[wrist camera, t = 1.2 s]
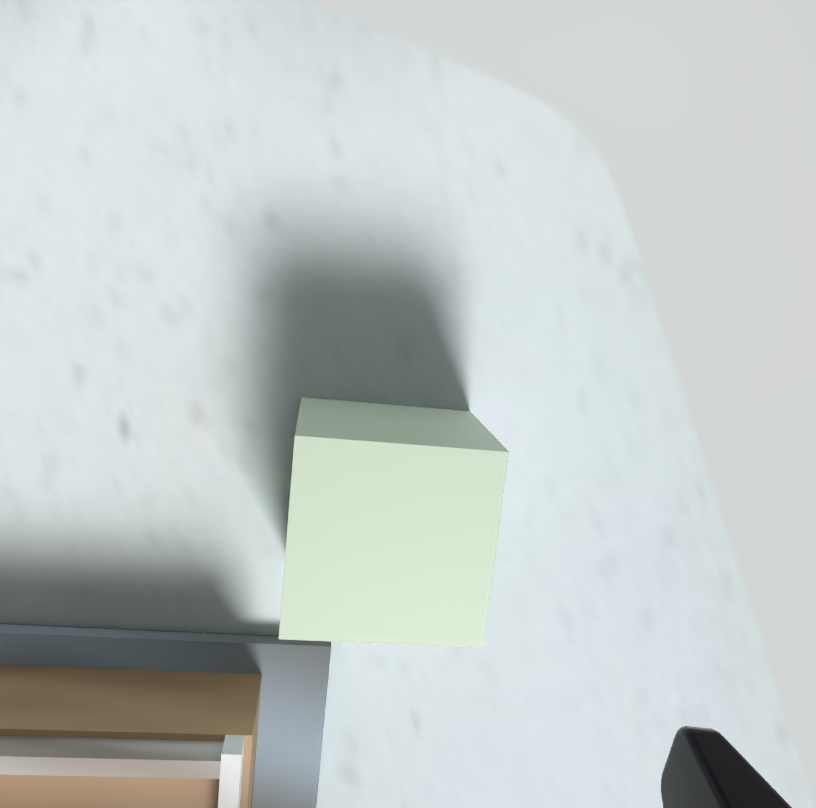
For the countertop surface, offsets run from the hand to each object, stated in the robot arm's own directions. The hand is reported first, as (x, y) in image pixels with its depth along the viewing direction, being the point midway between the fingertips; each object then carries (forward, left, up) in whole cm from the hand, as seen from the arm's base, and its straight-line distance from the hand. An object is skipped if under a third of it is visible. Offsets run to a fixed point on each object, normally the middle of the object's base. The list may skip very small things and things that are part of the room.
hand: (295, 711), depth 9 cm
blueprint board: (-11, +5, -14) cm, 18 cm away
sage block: (-1, -2, -14) cm, 14 cm away
